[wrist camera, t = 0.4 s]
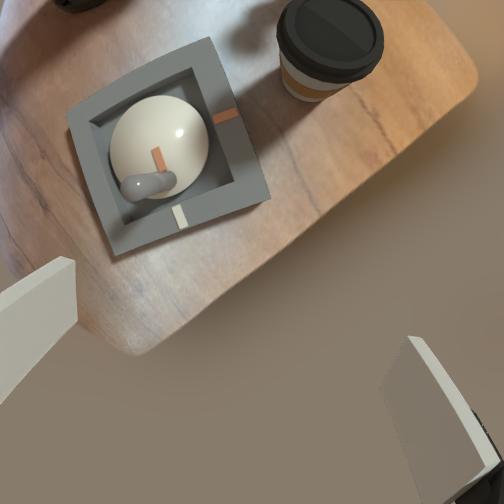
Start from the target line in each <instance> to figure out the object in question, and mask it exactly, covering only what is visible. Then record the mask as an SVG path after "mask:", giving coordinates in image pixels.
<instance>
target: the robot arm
mask: <svg viewBox="0 0 504 504" xmlns="http://www.w3.org/2000/svg"><path fill="white" fill-rule="evenodd" d="M52 1H53V3H54V4H55V5H56V6H57V7H59V8H61V9H62V10H64V11H66V12H70V13H75V12H81V11H85V10H87V9H90V8H92V7H94V6H96V5H98V4H100V3H102V2H103V1H105V0H52ZM77 321H78V317H77V303H76V283H75V260H71V259H68V258H65V257H62V256H60V257H58V258H56V259H54V260H53V261H51V262H49V263H48V264H46V265H44V266H43V267H41V268H39V269H38V270H36V271H34V272H33V273H31V274H30V275H28V276H26V277H25V278H23V279H22V280H20V281H18V282H17V283H15V284H14V285H12V286H11V287H9V288H8V289H6V290H5V291H3V292H2V293H0V404H1V403H2V402H3V401H4V400H5V398H6V397H7V396H8V395H9V394H10V393H11V391H12V390H13V389H14V388H15V387H16V386H17V384H18V383H19V382H20V381H21V380H22V379H23V378H24V377H25V375H26V374H27V373H28V372H29V371H30V370H31V369H32V368H33V367H34V365H35V364H36V363H37V362H38V361H39V360H40V359H41V358H42V357H43V356H44V355H45V354H46V352H48V351H49V349H50V348H51V347H52V346H53V345H54V344H55V343H56V342H57V341H58V340H59V339H60V338H61V337H62V336H63V335H64V334H65V333H66V332H67V331H68V330H69V329H70V328H71V327H72V326H73V325H74V324H75V323H76V322H77ZM379 389H380V391H381V394H382V396H383V399H384V401H385V404H386V406H387V409H388V411H389V414H390V416H391V419H392V421H393V424H394V427H395V429H396V431H397V434H398V437H399V439H400V442H401V445H402V447H403V450H404V453H405V456H406V459H407V462H408V464H409V467H410V470H411V473H412V476H413V479H414V482H415V485H416V488H417V491H418V494H419V497H420V500H421V503H422V504H451V503H453V502H454V501H455V503H456V504H504V461H503V459H502V457H501V455H500V454H499V452H498V450H497V448H496V447H495V445H494V443H493V441H492V439H491V438H490V436H489V434H486V432H487V431H486V429H485V428H484V426H482V423H481V421H480V419H479V418H478V416H477V415H476V413H474V411H473V410H472V409H471V408H470V407H469V406H468V405H467V403H466V402H465V400H464V398H463V397H462V395H461V394H460V392H459V391H458V389H457V388H456V386H455V385H454V383H453V382H452V380H451V379H450V377H449V376H448V374H447V373H446V371H445V370H444V368H443V367H442V366H441V364H440V363H439V361H438V360H437V359H436V357H435V356H434V354H433V353H432V352H431V350H430V349H429V347H428V346H427V345H426V343H425V342H424V341H423V339H422V338H420V337H412V336H407V337H406V340H405V341H404V343H403V345H402V347H401V349H400V351H399V353H398V355H397V356H396V358H395V360H394V362H393V364H392V365H391V367H390V369H389V370H388V372H387V374H386V376H385V377H384V379H383V381H382V382H381V384H380V386H379Z"/></svg>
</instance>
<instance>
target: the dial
mask: <svg viewBox="0 0 504 504" xmlns="http://www.w3.org/2000/svg"><path fill="white" fill-rule="evenodd" d="M209 153H210V136H209V131H208V128H207V125H206V123H205V121H204V119H203V118H202V116H201V115H200V114H199V112H198V111H197V110H196V109H195V108H193V107H192V106H191V105H189V104H188V103H186V102H185V101H183V100H181V99H179V98H176V97H172V96H153V97H149V98H146V99H143V100H141V101H139V102H138V103H136V104H134V105H133V106H132V107H130V108H129V109H128V110H127V111H126V112H125V113H124V114H123V116H122V117H121V118H120V120H119V121H118V123H117V125H116V127H115V129H114V132H113V135H112V138H111V144H110V158H111V163H112V167H113V170H114V172H115V174H116V176H117V178H118V179H119V181H120V182H121V187H120V190H121V194H122V196H123V198H124V199H125V200H127V201H129V202H135V201H138V200H141V199H144V198H149V199H161V198H166V197H170V196H173V195H175V194H178V193H180V192H182V191H184V190H185V189H187V188H188V187H190V186H191V185H192V184H193V183H194V182H195V181H196V180H197V179H198V178H199V176H200V175H201V173H202V172H203V170H204V168H205V166H206V163H207V161H208V157H209Z"/></svg>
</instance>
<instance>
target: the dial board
mask: <svg viewBox="0 0 504 504" xmlns="http://www.w3.org/2000/svg"><path fill="white" fill-rule="evenodd" d="M153 96H172V97H176V98H179V99H181V100H183V101H185V102H186V103H188V104H189V105H191V106H192V107H193V108H195V109H196V110H197V111H198V112H199V114H200V115H201V116H202V118H203V119H204V121H205V123H206V125H207V128H208V131H209V136H210V153H209V157H208V161H207V163H206V166H205V168H204V170H203V172H202V173H201V175H200V176H199V178H198V179H197V180H196V181H195V182H194V183H193V184H192V185H191V186H190V187H188V188H187V189H185V190H184V191H182V192H180V193H178V194H175V195H173V196H170V197H166V198H161V199H149V198H144V199H141V200H138V201H135V202H129V201H127V200H125V199H124V198H123V196H122V194H121V190H120V187H121V182H120V181H119V179H118V178H117V176H116V174H115V172H114V170H113V167H112V163H111V158H110V144H111V138H112V135H113V132H114V129H115V127H116V125H117V123H118V121H119V120H120V118H121V117H122V116H123V114H124V113H125V112H126V111H127V110H128V109H129V108H130V107H132V106H133V105H134V104H136V103H138V102H139V101H141V100H143V99H146V98H149V97H153ZM66 115H67V119H68V123H69V127H70V131H71V134H72V138H73V141H74V145H75V148H76V152H77V155H78V158H79V161H80V165H81V168H82V171H83V174H84V177H85V180H86V183H87V186H88V188H89V191H90V194H91V197H92V200H93V202H94V205H95V208H96V210H97V213H98V215H99V218H100V221H101V223H102V226H103V228H104V231H105V233H106V235H107V238H108V240H109V243H110V245H111V247H112V250H113V252H114V254H115V256H117V255H120V254H122V253H125V252H127V251H130V250H132V249H135V248H137V247H140V246H142V245H145V244H148V243H150V242H153V241H155V240H158V239H160V238H163V237H166V236H168V235H171V234H173V233H176V232H179V231H181V230H184V229H187V228H189V227H192V226H195V225H198V224H200V223H203V222H206V221H209V220H211V219H214V218H217V217H220V216H222V215H225V214H228V213H231V212H234V211H237V210H239V209H242V208H245V207H248V206H251V205H254V204H257V203H260V202H263V201H266V200H269V199H271V195H270V192H269V190H268V187H267V184H266V181H265V178H264V175H263V173H262V170H261V167H260V164H259V162H258V159H257V156H256V153H255V151H254V148H253V145H252V142H251V140H250V137H249V134H248V132H247V129H246V126H245V124H244V121H243V118H242V116H241V113H240V110H239V108H238V105H237V103H236V100H235V97H234V95H233V92H232V90H231V87H230V85H229V82H228V80H227V77H226V75H225V72H224V70H223V67H222V65H221V62H220V60H219V57H218V55H217V52H216V50H215V47H214V45H213V43H212V41H211V39H210V37H206V38H204V39H201V40H198V41H196V42H193V43H191V44H189V45H186V46H184V47H181V48H179V49H177V50H175V51H172V52H170V53H168V54H166V55H164V56H161V57H159V58H157V59H155V60H153V61H151V62H149V63H147V64H145V65H143V66H141V67H139V68H138V69H136V70H134V71H132V72H130V73H128V74H126V75H125V76H123V77H121V78H119V79H118V80H116V81H114V82H112V83H111V84H109V85H107V86H106V87H104V88H103V89H101V90H99V91H98V92H96V93H95V94H93V95H92V96H90V97H88V98H87V99H85V100H84V101H82V102H81V103H80V104H78V105H77V106H75V107H74V108H72V109H71V110H70V111H68V112H67V113H66Z"/></svg>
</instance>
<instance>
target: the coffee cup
mask: <svg viewBox="0 0 504 504" xmlns="http://www.w3.org/2000/svg"><path fill="white" fill-rule="evenodd" d="M276 37H277V41H278V44H279V48H280V54H279V56H280V68H281V73H282V80H283V84H284V86H285V88H286V89H287V91H288V92H289V93H290V94H291V95H293V96H294V97H296V98H297V99H299V100H302V101H305V102H318V101H321V100H324V99H326V98H327V97H330V96H332V95H334V94H335V93H337V92H339V91H340V90H342V89H343V88H345V87H347V86H348V85H350V84H351V83H352V82H355V81H358V80H361V79H363V78H364V77H366V76H367V75H368V74H370V73H371V72H372V71H373V69H374V68H375V66H376V65H377V64H378V62H379V61H380V59H381V57H382V53H383V50H384V34H383V29H382V26H381V24H380V21H379V20H378V18H377V17H376V15H375V14H374V12H373V11H372V10H371V9H370V8H369V7H368V6H367V5H366V4H364V3H363V2H362V1H360V0H293V1H291V2H290V3H289V4H288V5H287V6H286V7H285V8H284V10H283V12H282V14H281V16H280V19H279V22H278V24H277V35H276Z"/></svg>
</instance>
